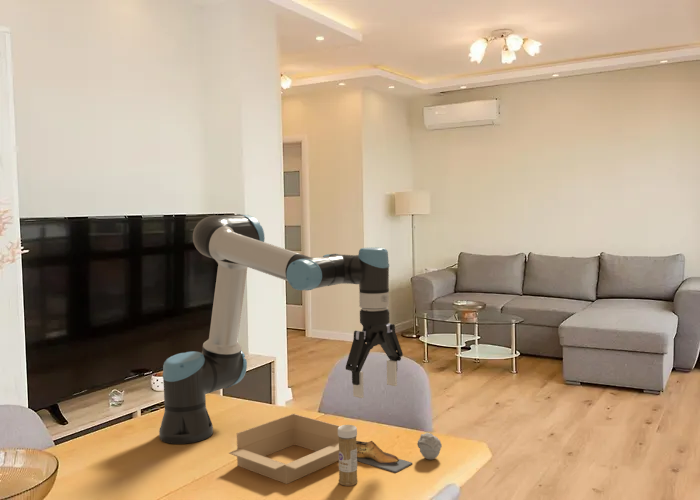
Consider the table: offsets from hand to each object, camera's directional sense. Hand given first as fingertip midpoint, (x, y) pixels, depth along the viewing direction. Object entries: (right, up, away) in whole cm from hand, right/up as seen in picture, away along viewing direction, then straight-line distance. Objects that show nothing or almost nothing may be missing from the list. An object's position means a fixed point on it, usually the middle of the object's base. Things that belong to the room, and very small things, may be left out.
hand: (375, 391), depth 171 cm
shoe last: (0, -18, +1) cm, 18 cm away
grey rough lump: (+14, -18, +1) cm, 23 cm away
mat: (+1, -18, +1) cm, 18 cm away
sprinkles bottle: (-7, -19, -12) cm, 24 cm away
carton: (-22, -19, -1) cm, 29 cm away
